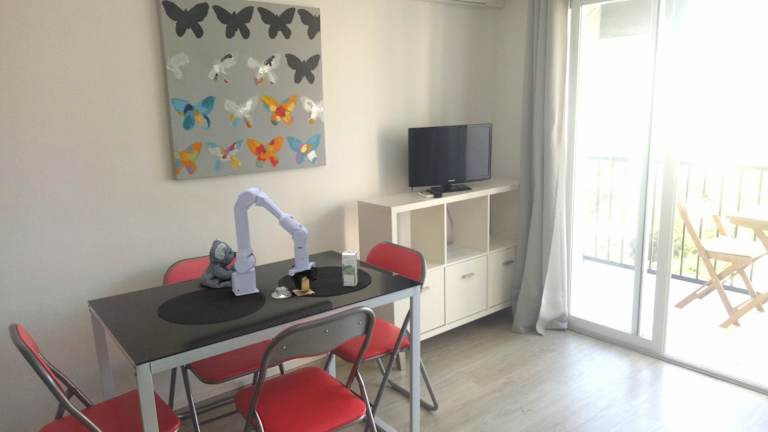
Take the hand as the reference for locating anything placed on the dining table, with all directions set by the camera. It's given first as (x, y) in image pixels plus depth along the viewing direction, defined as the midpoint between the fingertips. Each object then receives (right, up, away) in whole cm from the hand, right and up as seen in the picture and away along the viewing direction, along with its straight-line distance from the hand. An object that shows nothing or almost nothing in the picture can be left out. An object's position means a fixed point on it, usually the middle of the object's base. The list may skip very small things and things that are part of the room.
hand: (303, 287), depth 225 cm
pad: (0, -2, 0) cm, 2 cm away
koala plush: (-37, 0, +13) cm, 40 cm away
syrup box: (+19, 0, +9) cm, 21 cm away
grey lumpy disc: (-8, -3, -3) cm, 9 cm away
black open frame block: (-2, +1, +18) cm, 19 cm away
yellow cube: (0, -1, 0) cm, 0 cm away
